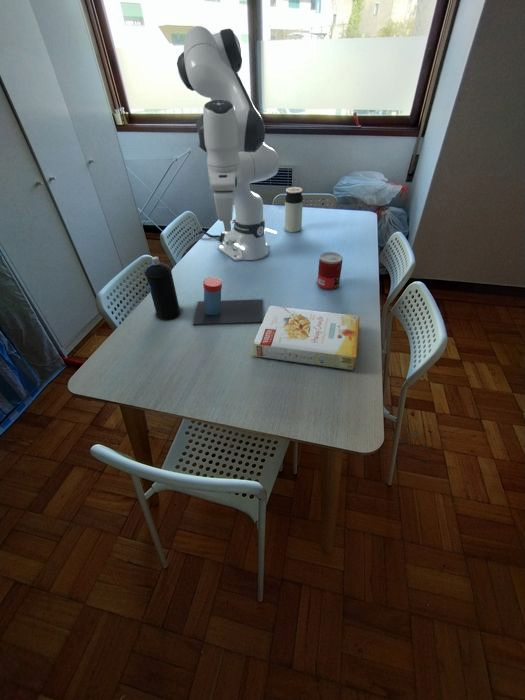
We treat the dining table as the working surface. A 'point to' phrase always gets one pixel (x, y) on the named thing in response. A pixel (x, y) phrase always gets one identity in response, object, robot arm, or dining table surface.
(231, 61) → the robot arm
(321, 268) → the canned food
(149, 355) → the dining table surface
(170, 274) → the aerosol can
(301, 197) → the travel mug
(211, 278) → the container
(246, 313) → the mat
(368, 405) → the dining table surface
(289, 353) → the cereal box
